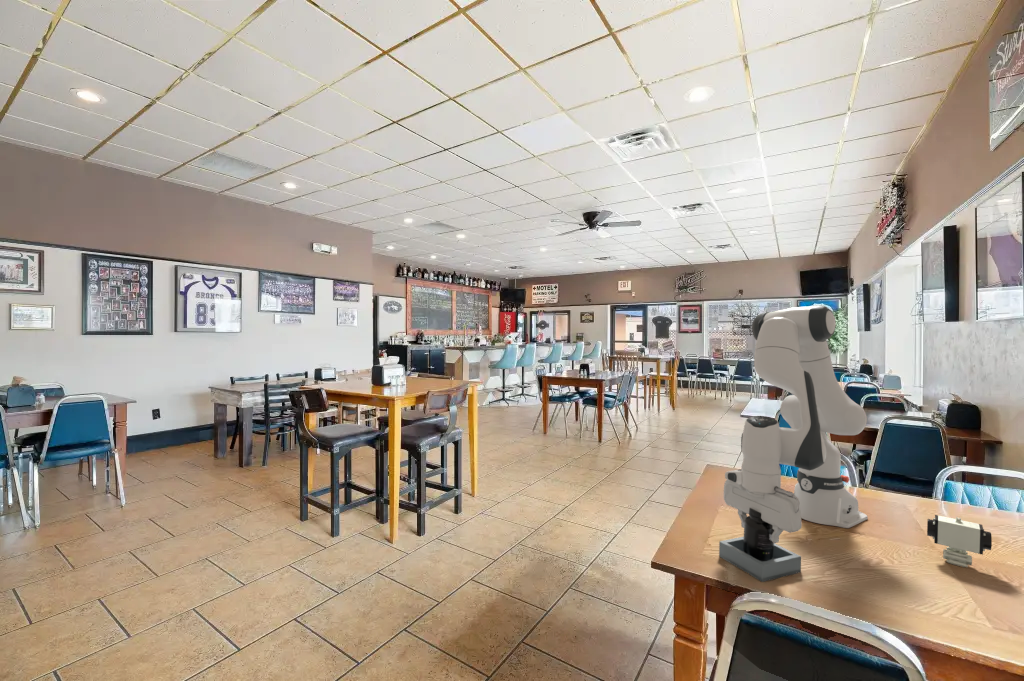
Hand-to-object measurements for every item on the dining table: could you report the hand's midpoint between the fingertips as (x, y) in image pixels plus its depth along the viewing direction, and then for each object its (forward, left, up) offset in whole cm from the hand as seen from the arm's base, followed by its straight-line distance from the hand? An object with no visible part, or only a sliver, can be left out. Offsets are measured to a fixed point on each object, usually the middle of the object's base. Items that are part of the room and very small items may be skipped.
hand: (759, 534), depth 115 cm
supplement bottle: (0, 0, -6) cm, 6 cm away
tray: (0, 0, -8) cm, 8 cm away
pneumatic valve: (-50, +17, -8) cm, 53 cm away
